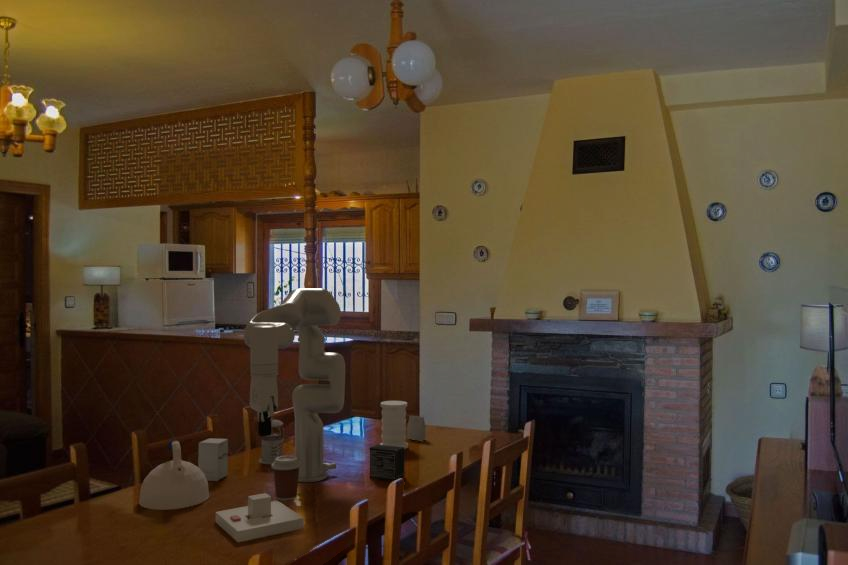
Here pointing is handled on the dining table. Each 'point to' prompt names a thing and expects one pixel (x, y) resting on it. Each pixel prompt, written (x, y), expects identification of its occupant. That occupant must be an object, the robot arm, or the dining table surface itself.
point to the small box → (386, 462)
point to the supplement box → (213, 458)
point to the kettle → (174, 484)
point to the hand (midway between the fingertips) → (264, 435)
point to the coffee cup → (286, 477)
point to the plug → (259, 506)
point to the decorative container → (394, 423)
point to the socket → (258, 522)
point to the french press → (272, 444)
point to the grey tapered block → (416, 428)
